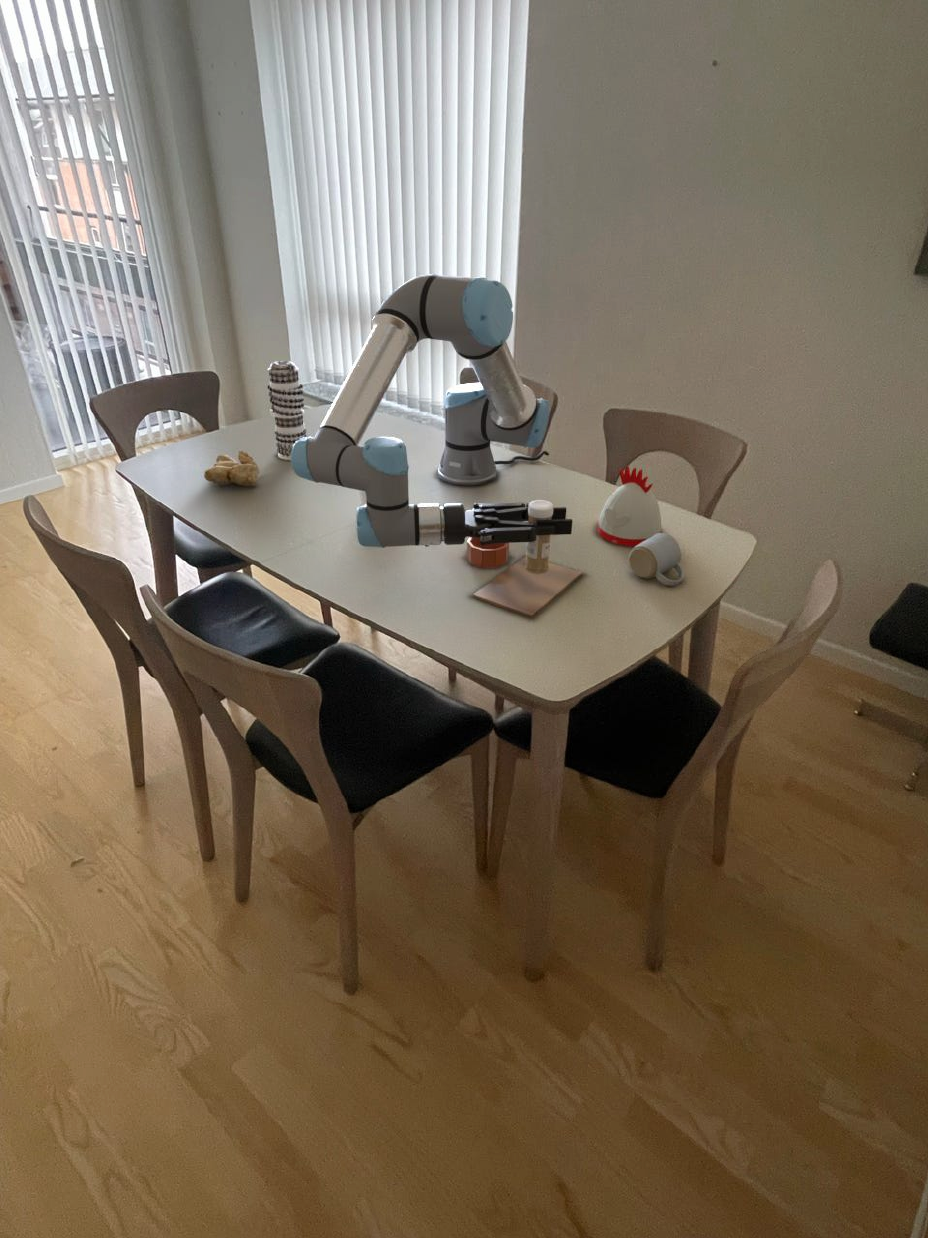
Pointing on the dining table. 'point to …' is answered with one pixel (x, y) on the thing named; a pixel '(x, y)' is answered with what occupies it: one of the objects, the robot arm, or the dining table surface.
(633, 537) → the kitchen timer
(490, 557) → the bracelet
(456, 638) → the dining table surface
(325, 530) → the dining table surface
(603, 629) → the dining table surface
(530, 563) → the sprinkles bottle
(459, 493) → the dining table surface
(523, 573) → the wooden board
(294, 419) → the patterned tall cylinder
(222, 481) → the ginger root
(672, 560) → the ceramic mug
